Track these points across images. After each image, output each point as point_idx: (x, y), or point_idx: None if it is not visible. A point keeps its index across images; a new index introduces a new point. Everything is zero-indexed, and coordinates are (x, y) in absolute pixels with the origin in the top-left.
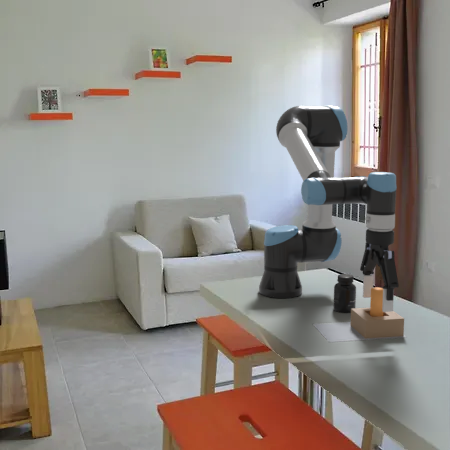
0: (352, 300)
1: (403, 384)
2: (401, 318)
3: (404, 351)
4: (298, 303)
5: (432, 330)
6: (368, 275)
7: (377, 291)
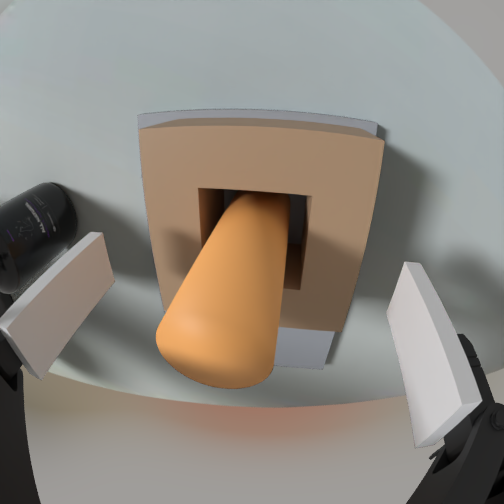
0: (37, 224)
1: None
2: (378, 156)
3: (453, 198)
4: (25, 287)
5: None
6: (20, 355)
7: (266, 372)
